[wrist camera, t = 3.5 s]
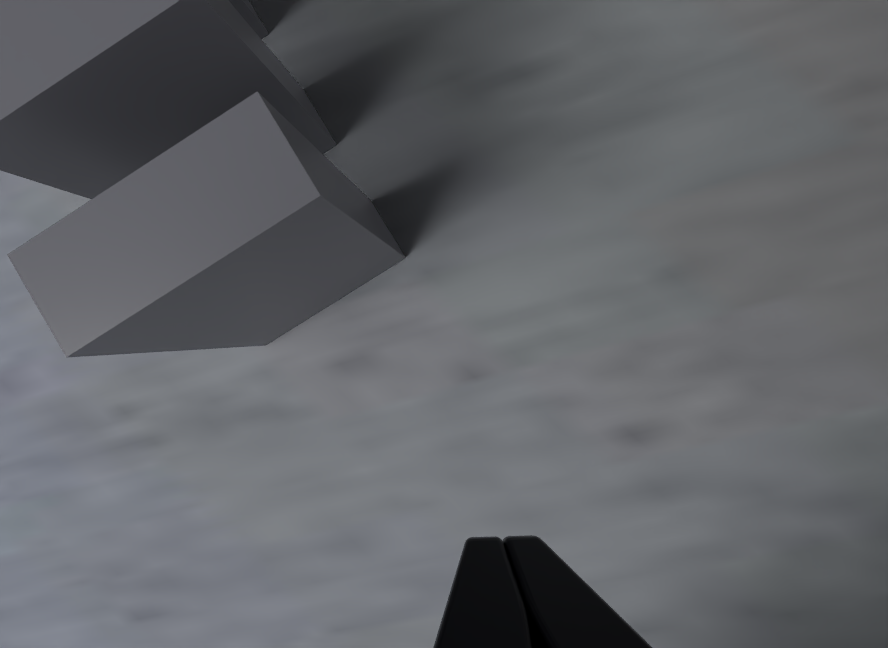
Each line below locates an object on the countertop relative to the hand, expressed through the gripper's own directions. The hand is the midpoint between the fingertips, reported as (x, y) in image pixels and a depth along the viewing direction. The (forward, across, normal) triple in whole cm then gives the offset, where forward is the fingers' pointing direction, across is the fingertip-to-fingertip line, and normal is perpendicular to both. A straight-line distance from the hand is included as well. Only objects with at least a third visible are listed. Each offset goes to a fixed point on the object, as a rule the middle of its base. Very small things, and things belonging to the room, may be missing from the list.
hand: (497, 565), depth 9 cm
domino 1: (+16, +5, -1) cm, 17 cm away
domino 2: (+14, +3, +2) cm, 15 cm away
